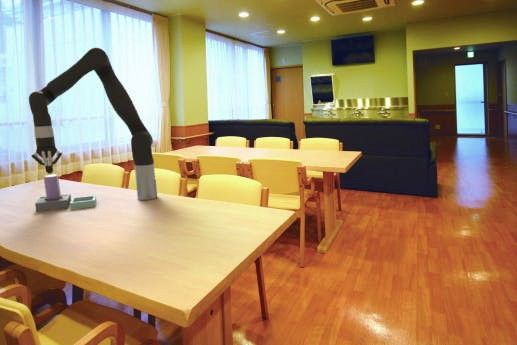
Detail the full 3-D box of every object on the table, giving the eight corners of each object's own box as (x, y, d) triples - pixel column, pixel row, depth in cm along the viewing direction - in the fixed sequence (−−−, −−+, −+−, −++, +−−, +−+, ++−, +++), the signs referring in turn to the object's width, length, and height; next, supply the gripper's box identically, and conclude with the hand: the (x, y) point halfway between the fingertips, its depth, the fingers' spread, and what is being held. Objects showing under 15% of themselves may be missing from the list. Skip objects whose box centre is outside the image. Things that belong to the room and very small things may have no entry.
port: (71, 201, 181) (70, 192, 181) (68, 208, 170) (67, 198, 169) (41, 205, 177) (40, 196, 176) (36, 212, 165) (34, 202, 164)
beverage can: (56, 208, 170) (51, 176, 167) (45, 208, 171) (40, 176, 168) (65, 204, 176) (60, 174, 173) (54, 204, 177) (50, 174, 174)
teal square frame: (96, 201, 181) (95, 195, 180) (95, 206, 171) (94, 200, 171) (73, 203, 177) (72, 197, 176) (70, 209, 167) (69, 203, 167)
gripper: (62, 134, 173) (66, 170, 176) (29, 136, 168) (35, 173, 171) (59, 135, 166) (64, 173, 169) (26, 137, 161) (31, 176, 164)
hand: (49, 173), depth 170 cm, fingers closed
